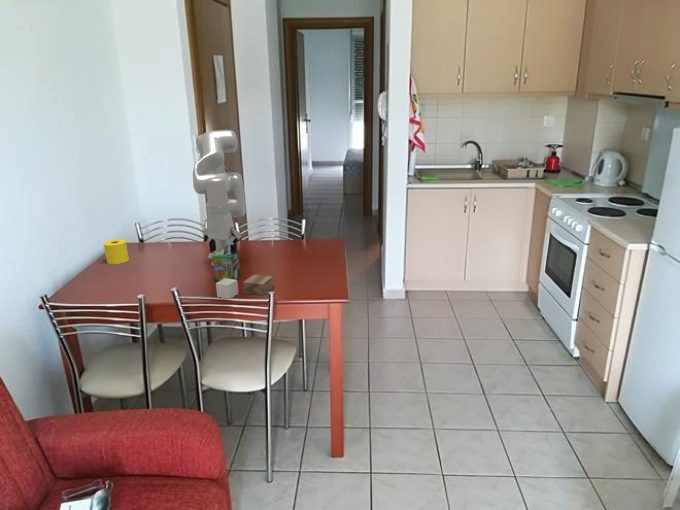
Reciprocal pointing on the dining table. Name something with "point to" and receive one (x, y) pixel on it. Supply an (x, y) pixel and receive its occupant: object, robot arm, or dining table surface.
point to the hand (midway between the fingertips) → (223, 252)
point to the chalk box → (226, 264)
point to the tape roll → (116, 251)
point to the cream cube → (227, 288)
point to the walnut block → (258, 284)
